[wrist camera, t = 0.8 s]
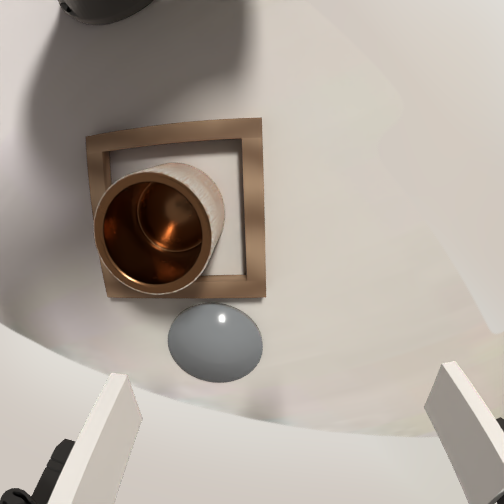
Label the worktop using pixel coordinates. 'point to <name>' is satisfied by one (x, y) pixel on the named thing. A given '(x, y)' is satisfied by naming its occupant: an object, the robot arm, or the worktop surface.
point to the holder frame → (253, 198)
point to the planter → (159, 227)
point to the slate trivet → (215, 342)
